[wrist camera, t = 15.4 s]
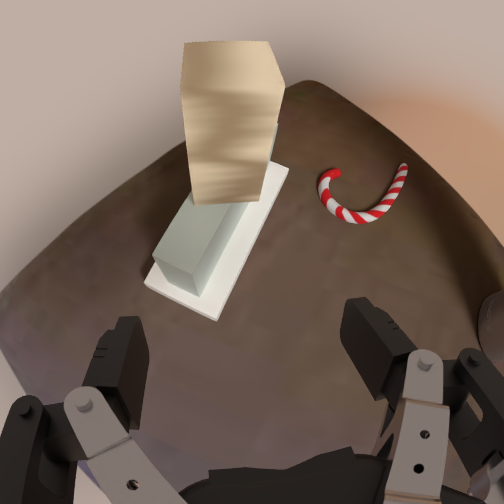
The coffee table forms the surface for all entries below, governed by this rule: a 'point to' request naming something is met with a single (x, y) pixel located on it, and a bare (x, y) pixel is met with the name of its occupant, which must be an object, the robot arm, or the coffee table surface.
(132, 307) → the coffee table surface
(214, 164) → the pine block
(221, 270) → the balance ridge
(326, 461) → the robot arm
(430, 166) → the coffee table surface
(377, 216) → the candy cane
